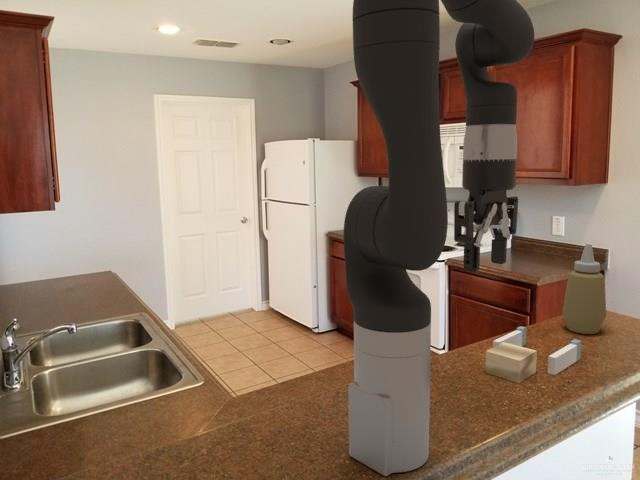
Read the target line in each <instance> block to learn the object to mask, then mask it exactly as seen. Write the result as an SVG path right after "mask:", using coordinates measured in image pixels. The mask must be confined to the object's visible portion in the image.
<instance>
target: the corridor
mask: <svg viewBox="0 0 640 480" xmlns="http://www.w3.org/2000/svg"><path fill="white" fill-rule="evenodd" d="M503 342H505V343H509V344H513V345H517V346H521V347H524V346H525V345H527V343H526V342H527V327H525V326H523V325H522V326H517V327H516V330H514V331H511V332H509V333H507V334H505V335H503V336H501V337H499V338H496V339H494V340H492V348H493V347H495V346H497V345H499V344H501V343H503ZM581 350H582V340H579V339H575V338H574V339H572V340H571V341H570V343H569V344H567V345H566V346H564V347H562V348H560V349H558V350H557V351H555V352H553V353H551V354H550V355H548V358H547V359H548V362H547V374H549V375H553V376H556V375H558V374H559V373H561V372H562V371H564V370H565V369H566V368H568V367H570V366H571V365H573V364H575V363H576V362H578V361H579V360H580V359H581V354H582V353H581V352H582V351H581Z"/></svg>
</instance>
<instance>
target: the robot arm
mask: <svg viewBox="0 0 640 480" xmlns="http://www.w3.org/2000/svg"><path fill="white" fill-rule="evenodd" d="M440 2H441V3H442V5H443V7H444V9H445V11H446V12H447V14H448V16H449V17H451V19H452V20H453V21H456V22H458V23H462V25H461V26H460V27H459V29H458V31H457V32H456V33H457V34H456V36H455V43H454V47H455V54H456V59H457V62H458V66H459V69H460V74H461V79H462V85H463V88H464V93H465V99H466V105H465V106H466V108H465V131H464V135H463V136H464V137H463V144H462V145H463V149H462V175H461V176H462V177H461V178H462V182H461V186H462V188H463V189H464V190H468V192H469V193H468V197H467V201H464V200H456V201H455V202H454V206H453V207H454V209H453V211H454V212H453V213H454V214H453V215H454V217H453V221H454V222H453V223H454V224H453V230H454V231H453V236H454V237H453V239H454V242H455V243H460V244H462V245H463V269H464V270H465V271H468V272H473V273H475V272H477V271H478V272H479V270H480V263H481V262H480V260H481V246H480V245H481V243H482V239H483V236H484V235H485V234H487V233H488V231H489V230H490V233H491V236H492V238H493V239H491V249H490V251H491V253H490V261H491V263H493V264H498V265H503V264H506V263H507V251H508V250H507V249H508V248H507V246H508V241H509V240H510V239H511V235H515V234H516V233H517V224H518V223H517V222H518V211H519V210H518V207H519V198H518V196H515V195H507V191H511V190H514V189H515V187H516V179H517V177H516V176H517V174H516V173H517V159H518V158H517V156H518V155H517V154H518V136H517V115H518V110H517V109H518V89H517V87H516V86H515V85H514V84H512V83H510V82H504V81H496V80H495V81H494V80H492V79H491V77H490V75H489V73H488V68H489V67H490V68H491V67H496V66H497V67H498V66H504V65H511V64H512V65H513V64H515V63H518V62H521V61H523V60H524V59H526V58H527V56H528V55H530V53H531V51H532V49H533V47H534V46H533V45H534V44H535V28H534V24H533V22H532V19H531V16H529V13H528V12H527V11H526V9H524V7H523V5H521V4H520V2H518V1H517V0H353V2H352V45H353V49H352V50H353V51H352V52H353V61H354V63H353V64H354V67H355V68H354V69H355V73H356V74H355V75H356V77H357V80H358V82H359V85H360V88H361V89H362V92H363V94H364V96H365V98H366V101H367V103H368V105H369V107H370V108H371V110H372V112H373V114H374V117H375V119H376V121H377V123H378V126H379V128H380V129H381V133H382V136H383V139H384V144H385V149H386V156H387V170H388V172H387V173H388V185H372V186H367V187H364V188H362V189H361V190H359V191H358V192H357V193H356V194H355V195H354V196H353V197H352V199H351V201H350V202H349V204H348V207H347V209H346V213H345V217H344V223H343V254H344V269H345V270H344V271H345V272H344V273H345V285H346V287H345V288H346V293H347V296H348V300H349V301H350V304H351V306H352V311H353V378H354V379H353V382H350V383H349V384H348V389H347V390H348V391H347V392H348V395H347V396H348V455H349V457H351V458H353V459H355V460H357V461H358V462H360V463H361V464H363V465H365V466H366V467H368V468H370V469H371V470H374V471H375V472H377V473H378V474H381V476H384V477H388V476H389V475H391V474H394V473H405V472H410V471H413V470H417V469H419V468H421V467H422V466H423V465H425V464H426V462H428V459H429V454H430V450H429V449H430V410H431V409H430V404H431V403H430V399H431V397H430V395H431V347H432V345H431V343H432V340H431V338H432V337H431V336H432V304H431V300H430V299H429V297H428V295H427V294H426V293H425V292H423V290H422V289H420V288H419V287H418V286H417V285H416V284H415V283H414V282H413V281H412V279H411V277H410V276H409V273H408V271H415V272H420V271H424V270H427V269H429V268H431V267H432V266H433V265H434V264H435V263H436V262H437V261H438V259H439V258H440V257H441V255H442V253H443V250H444V247H445V244H446V240H447V236H448V228H449V227H448V225H449V220H448V219H449V217H448V216H449V215H448V213H449V210H448V201H447V200H448V199H447V191H446V180H445V173H444V172H445V171H444V162H443V152H442V151H443V149H442V141H441V119H440V118H441V117H440V116H441V114H440V89H439V88H440V84H439V83H440V81H439V80H440V78H439V76H440V75H439V73H440V71H439V70H440V44H441V43H440V42H441V41H440V24H441V23H440V22H441V20H440V18H441V17H440ZM462 227H463V228H464V232H463V228H462ZM474 233H475V234H474Z"/></svg>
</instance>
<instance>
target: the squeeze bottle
mask: <svg viewBox="0 0 640 480" xmlns="http://www.w3.org/2000/svg"><path fill="white" fill-rule="evenodd" d="M593 250H594V249H593V245H592V244H585V245H584V248H583V251H582V254H581V258H580V260H575V261H574V267H573V268H574V270H572V271H571V272H569V273H568V278H567V282H566V283H567V284H566V288H565V294H564V301H563V306H562V314H563V318H564V320H565V325H566V328H567V329H568V330H569V331H571V332H573V333H577V334H583V335H595V334H598V333H599V332H600V330H601V328H602V325H603V324H604V321H605V320H606V317H607V305H606V301H607V300H606V299H607V298H606V279H605V276H604V274H603V273H601V272H600V271H601V263H600V262H598V261H595V256H594V251H593Z"/></svg>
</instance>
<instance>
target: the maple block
mask: <svg viewBox="0 0 640 480" xmlns="http://www.w3.org/2000/svg"><path fill="white" fill-rule="evenodd" d="M537 353H538V351H537V350H535V349H531V348H528V347H524V346H522V347H521V346H517V345H513V344H509V343H505V342H503V343H501V344H499V345H497V346H495V347H493V346H492V347H491V348H489V349H487V350H485V369H484V373H485V374H490V375H493V376H495V377H499V378H502V379H505V380H509V381H511V382H515V383H517V384H520V383H521V382H523V381H525V380H526V379H528V378H529V377H531V376H532V375H534V374H535V373H536V372H537V356H538V355H537Z"/></svg>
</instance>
